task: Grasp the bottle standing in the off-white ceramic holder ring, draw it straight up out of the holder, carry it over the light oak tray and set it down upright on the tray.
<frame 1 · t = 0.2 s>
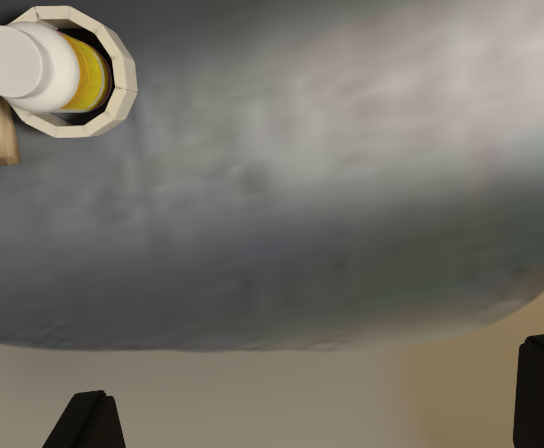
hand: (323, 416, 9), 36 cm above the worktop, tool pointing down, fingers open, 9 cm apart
holder: (79, 78, 41), on the worktop
supplement bottle: (80, 78, 41), resting in holder
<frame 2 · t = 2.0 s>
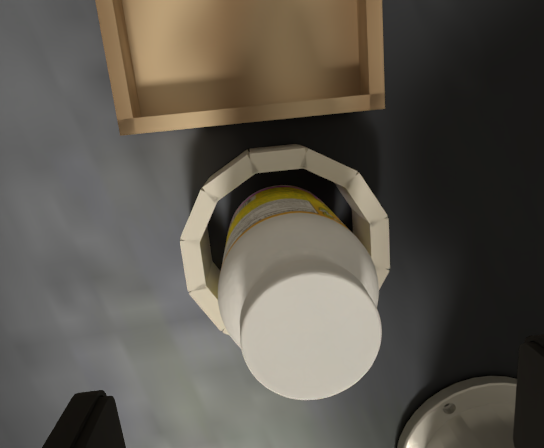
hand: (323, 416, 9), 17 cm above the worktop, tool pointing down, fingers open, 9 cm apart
tray: (241, 9, 23), on the worktop
holder: (281, 234, 26), on the worktop
supplement bottle: (281, 233, 26), resting in holder
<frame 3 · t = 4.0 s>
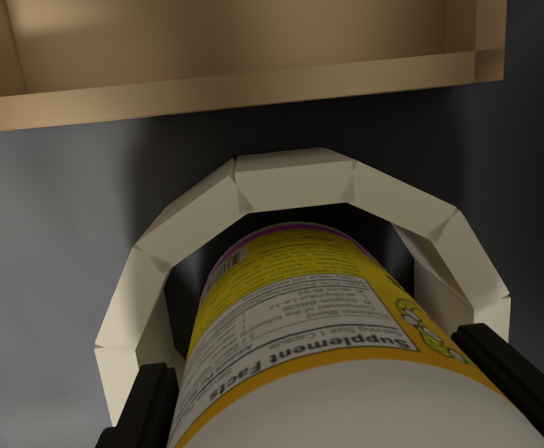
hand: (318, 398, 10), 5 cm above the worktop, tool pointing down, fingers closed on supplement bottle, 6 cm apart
holder: (293, 303, 15), on the worktop
supplement bottle: (292, 300, 15), resting in holder, touching gripper
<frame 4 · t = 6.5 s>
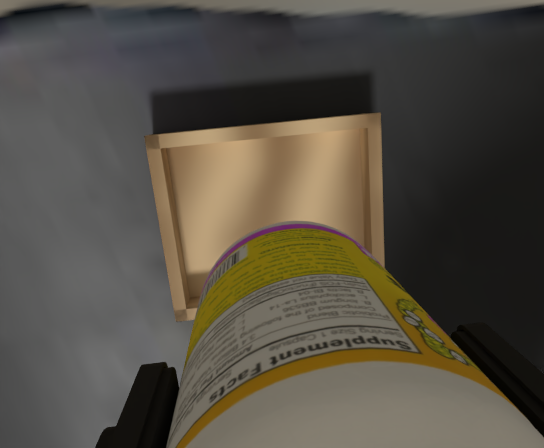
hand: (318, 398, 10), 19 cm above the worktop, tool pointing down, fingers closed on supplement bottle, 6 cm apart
tray: (270, 213, 28), on the worktop
supplement bottle: (292, 300, 15), point 13 cm above the worktop, touching gripper
when the fingers open (7 cm above the worktop, at t = 9.6 s): supplement bottle drops 1 cm, resting on tray.
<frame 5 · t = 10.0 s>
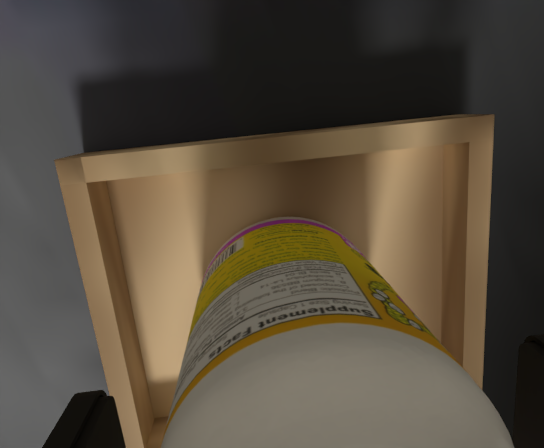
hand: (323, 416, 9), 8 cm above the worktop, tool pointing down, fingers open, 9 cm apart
tray: (287, 282, 17), on the worktop
supplement bottle: (285, 290, 17), resting on tray
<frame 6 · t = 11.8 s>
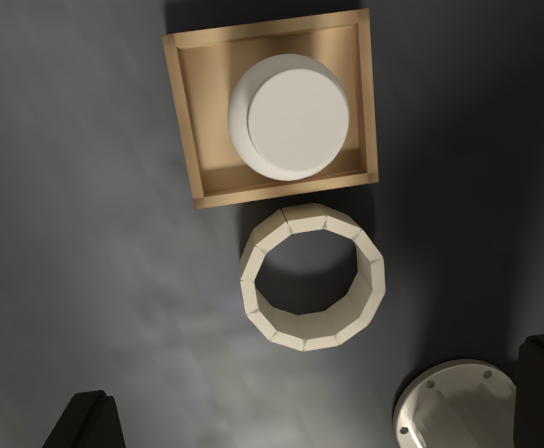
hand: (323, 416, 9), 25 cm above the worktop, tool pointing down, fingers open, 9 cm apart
tray: (274, 112, 32), on the worktop
holder: (305, 266, 35), on the worktop
supplement bottle: (273, 115, 31), resting on tray
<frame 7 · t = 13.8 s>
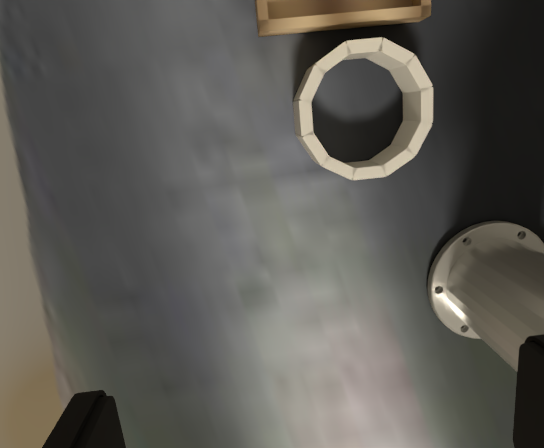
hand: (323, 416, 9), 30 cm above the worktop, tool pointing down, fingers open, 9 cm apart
holder: (354, 111, 37), on the worktop
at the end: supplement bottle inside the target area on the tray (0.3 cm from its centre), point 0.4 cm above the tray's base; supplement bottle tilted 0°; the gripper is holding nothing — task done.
